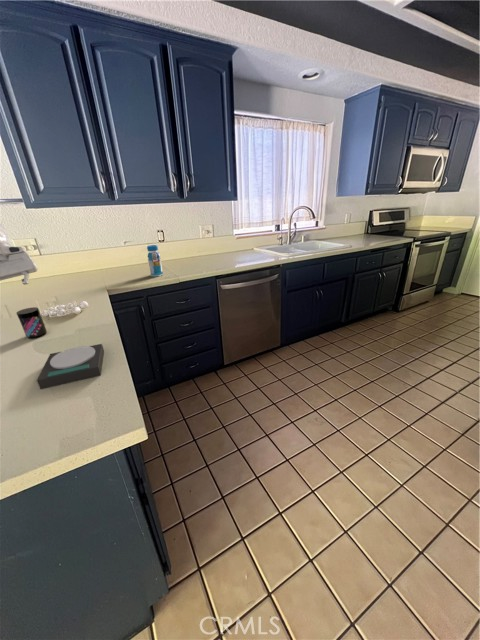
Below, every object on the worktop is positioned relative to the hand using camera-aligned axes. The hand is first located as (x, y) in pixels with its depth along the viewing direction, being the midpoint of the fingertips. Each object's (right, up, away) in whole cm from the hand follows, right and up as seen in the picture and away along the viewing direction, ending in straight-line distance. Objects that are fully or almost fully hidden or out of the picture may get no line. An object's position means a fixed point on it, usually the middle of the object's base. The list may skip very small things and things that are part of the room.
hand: (11, 287), depth 103 cm
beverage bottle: (+31, +19, +81) cm, 89 cm away
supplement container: (+10, -19, 0) cm, 21 cm away
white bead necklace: (+8, -10, +20) cm, 24 cm away
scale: (+39, -27, -22) cm, 52 cm away
